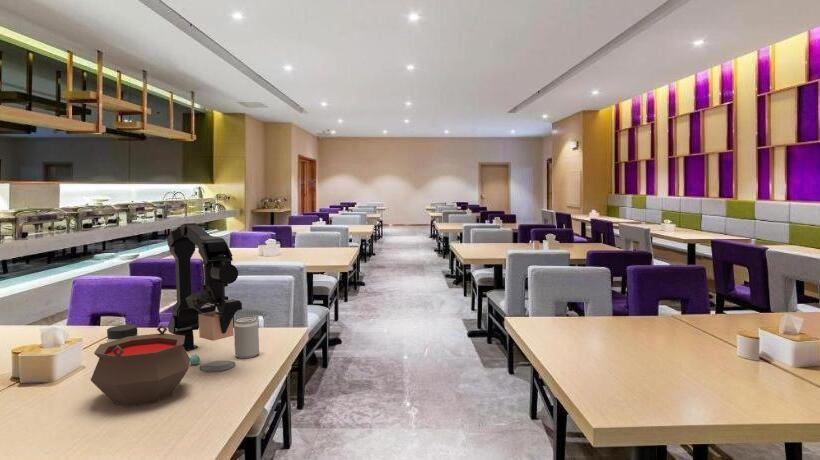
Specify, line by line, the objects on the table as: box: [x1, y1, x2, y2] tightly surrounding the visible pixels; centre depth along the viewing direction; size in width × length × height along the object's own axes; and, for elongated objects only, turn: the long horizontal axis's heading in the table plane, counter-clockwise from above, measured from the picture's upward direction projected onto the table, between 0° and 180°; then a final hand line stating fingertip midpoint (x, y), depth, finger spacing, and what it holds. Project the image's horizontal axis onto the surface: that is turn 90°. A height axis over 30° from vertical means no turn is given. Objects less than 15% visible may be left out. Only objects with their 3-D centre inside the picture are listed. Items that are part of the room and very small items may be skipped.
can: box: [233, 316, 260, 359], centre depth 172 cm, size 8×8×12 cm
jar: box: [106, 324, 139, 343], centre depth 163 cm, size 9×8×12 cm
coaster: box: [199, 359, 236, 373], centre depth 161 cm, size 10×10×1 cm
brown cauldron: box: [90, 323, 191, 407], centre depth 138 cm, size 24×24×16 cm
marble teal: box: [189, 354, 201, 366], centre depth 164 cm, size 3×3×3 cm
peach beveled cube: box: [198, 310, 234, 342], centre depth 161 cm, size 7×7×7 cm
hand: (216, 331), depth 161 cm, fingers closed on peach beveled cube, 7 cm apart
